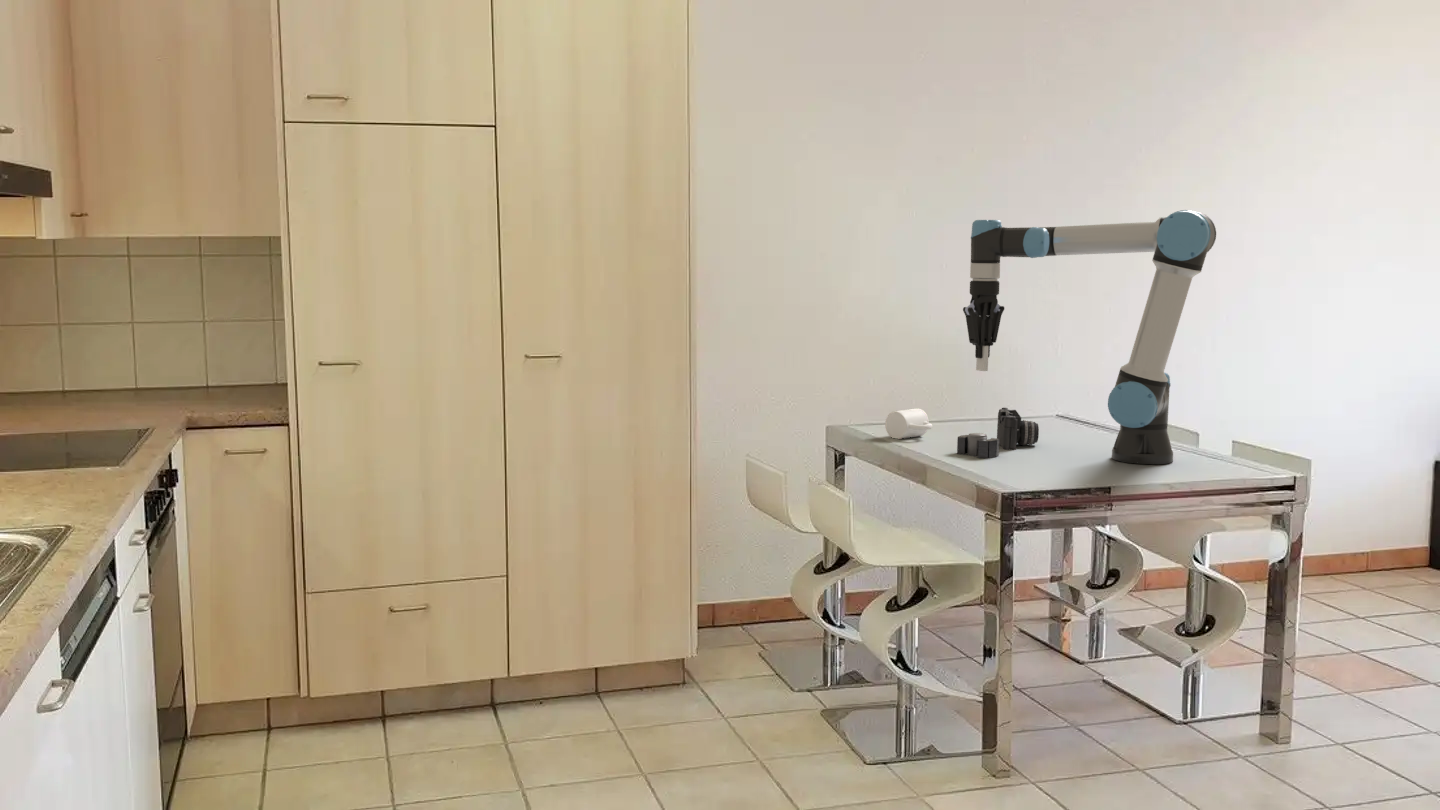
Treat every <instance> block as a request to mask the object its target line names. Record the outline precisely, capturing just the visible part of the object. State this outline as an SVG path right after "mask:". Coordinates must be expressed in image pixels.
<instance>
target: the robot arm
mask: <svg viewBox="0 0 1440 810" xmlns="http://www.w3.org/2000/svg"><path fill="white" fill-rule="evenodd" d="M971 224H972V225H971V235H970V267H969V268H970V269H969V270H970V272H969V275H970V277H969V278H970V279H972V280H970V281H969V294H970V295H971V299H970V302H969V303H970V304H969V305H968V306H965V307H963V308H962V311H963V314H964V317H965V322H966V326H967V333H968V334H967V335H968V342H969V344H972V345H973V346H975V354H974V355H975V356H974V357H975V359H976V367H975V368H976V369H975V371H979V372H988V371H989V358H990V355H991V353H990V351H991V347H992V346H994V343H995V344H996V342H997V340H998V336H999V331H1000V330H999V329H1000V324H1001V319H1002V315H1003V313H1004V311H1005V306H1004V305H1000V304H999V301H998V295H1000V281H999V280H998V279H1000V277H1001V258H1007V257H1009V258H1031V259H1035V258H1043V257H1055V256H1077V255H1079V256H1080V255H1104V254H1105V255H1106V254H1130V253H1153V257H1152V262H1153V264H1154V266H1155V268H1156V269H1155V272H1154V276H1153V279H1152V283H1151V286H1150V290H1149V293H1148V297H1147V300H1146V303H1145V307H1144V310H1143V314H1142V317H1141V320H1140V323H1139V327H1138V330H1137V333H1136V337H1135V340H1134V343H1133V347H1132V351H1131V353H1130V357H1129V359H1128V360H1129V361H1128V362H1127V363H1126V364H1124V365H1122V366H1121V367H1120V369H1119V371H1118V374H1117V375H1118V376H1117V378H1116V381H1115V385H1114V387H1113V388H1112V389H1111V391H1110V393H1109V394H1108V398H1107V410H1108V412H1109V414H1110V416H1111V418H1112V419H1113V420H1114V421H1115V422H1116V423H1118V424H1119V425H1120V426H1119V431H1118V433H1117V436H1116V439H1115V442H1114V444H1113V447H1112V448H1111V449H1112V450H1111V459H1113V460H1115V461H1119V462H1123V463H1128V464H1136V465H1137V464H1138V465H1165V464H1171V463H1173V462H1174V451H1173V450H1172V449H1173V448H1172V444H1171V440H1170V436H1169V434H1168V433H1169V432H1168V424H1169V423H1168V422H1169V409H1170V408H1169V405H1170V404H1169V403H1170V402H1169V401H1170V387H1171V379H1170V378H1171V376H1170V375H1169V374H1168V373H1167V372H1165V369H1166V366H1167V363H1168V359H1169V355H1170V352H1171V349H1172V345H1173V343H1174V339H1175V336H1176V333H1177V329H1178V326H1179V323H1180V320H1181V316H1182V314H1183V310H1184V306H1185V303H1186V299H1187V297H1188V294H1189V290H1190V286H1191V283H1192V281H1193V278H1194V277H1195V276H1197V275H1198V274H1200V273H1202V270H1203V266H1204V263H1205V260H1206V257H1207V253H1209V251H1210V250H1211V249H1212V247H1214V244H1215V243H1216V238H1217V230H1216V229H1217V228H1216V225H1215V223H1214V221H1213V220H1212V219H1211V218H1210V217H1209V216H1208V215H1207V214H1204V213H1203V212H1200V211H1196V210H1191V209H1190V210H1188V209H1183V210H1178V211H1174V212H1172V213H1170V214H1169V215H1168V216H1163V217H1161V216H1160V217H1159V218H1158V219H1157V220H1155V221H1142V222H1141V221H1140V222H1124V223H1123V222H1121V223H1120V222H1119V223H1105V224H1103V223H1101V224H1085V225H1065V226H1047V227H1046V226H1045V227H1044V226H1040V227H1039V226H1038V227H1037V226H1035V227H1034V226H1032V227H1004V226H1003V225H1002V221H1001V220H1000V219H976V220H974V221H973V222H972V223H971Z"/></svg>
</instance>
